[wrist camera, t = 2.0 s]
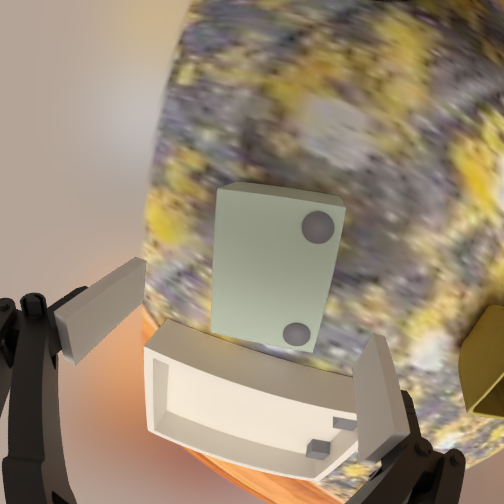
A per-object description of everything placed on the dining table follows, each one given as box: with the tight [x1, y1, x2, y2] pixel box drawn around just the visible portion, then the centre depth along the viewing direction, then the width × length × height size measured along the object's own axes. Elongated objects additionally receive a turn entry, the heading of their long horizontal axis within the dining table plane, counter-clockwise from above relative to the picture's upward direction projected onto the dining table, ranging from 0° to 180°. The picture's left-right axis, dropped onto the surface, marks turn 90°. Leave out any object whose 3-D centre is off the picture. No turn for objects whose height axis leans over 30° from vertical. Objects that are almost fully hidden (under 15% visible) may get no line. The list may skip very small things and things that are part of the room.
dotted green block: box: [211, 181, 346, 353], centre depth 21 cm, size 11×8×5 cm
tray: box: [144, 319, 358, 482], centre depth 27 cm, size 17×24×5 cm
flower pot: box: [458, 305, 504, 420], centre depth 16 cm, size 9×9×9 cm
